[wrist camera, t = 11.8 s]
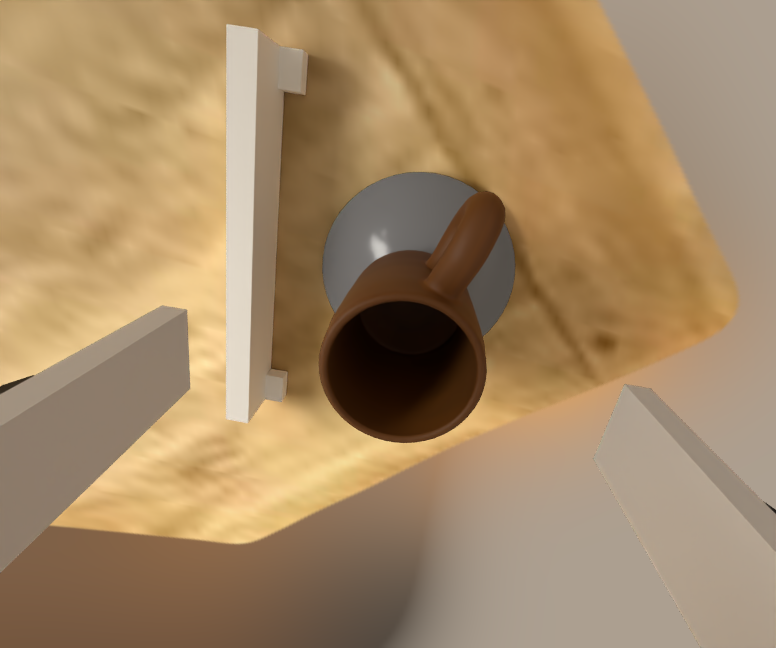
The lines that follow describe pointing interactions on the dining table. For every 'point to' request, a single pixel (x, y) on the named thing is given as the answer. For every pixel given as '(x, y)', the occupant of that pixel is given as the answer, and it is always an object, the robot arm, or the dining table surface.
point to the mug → (413, 334)
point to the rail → (254, 210)
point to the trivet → (411, 237)
